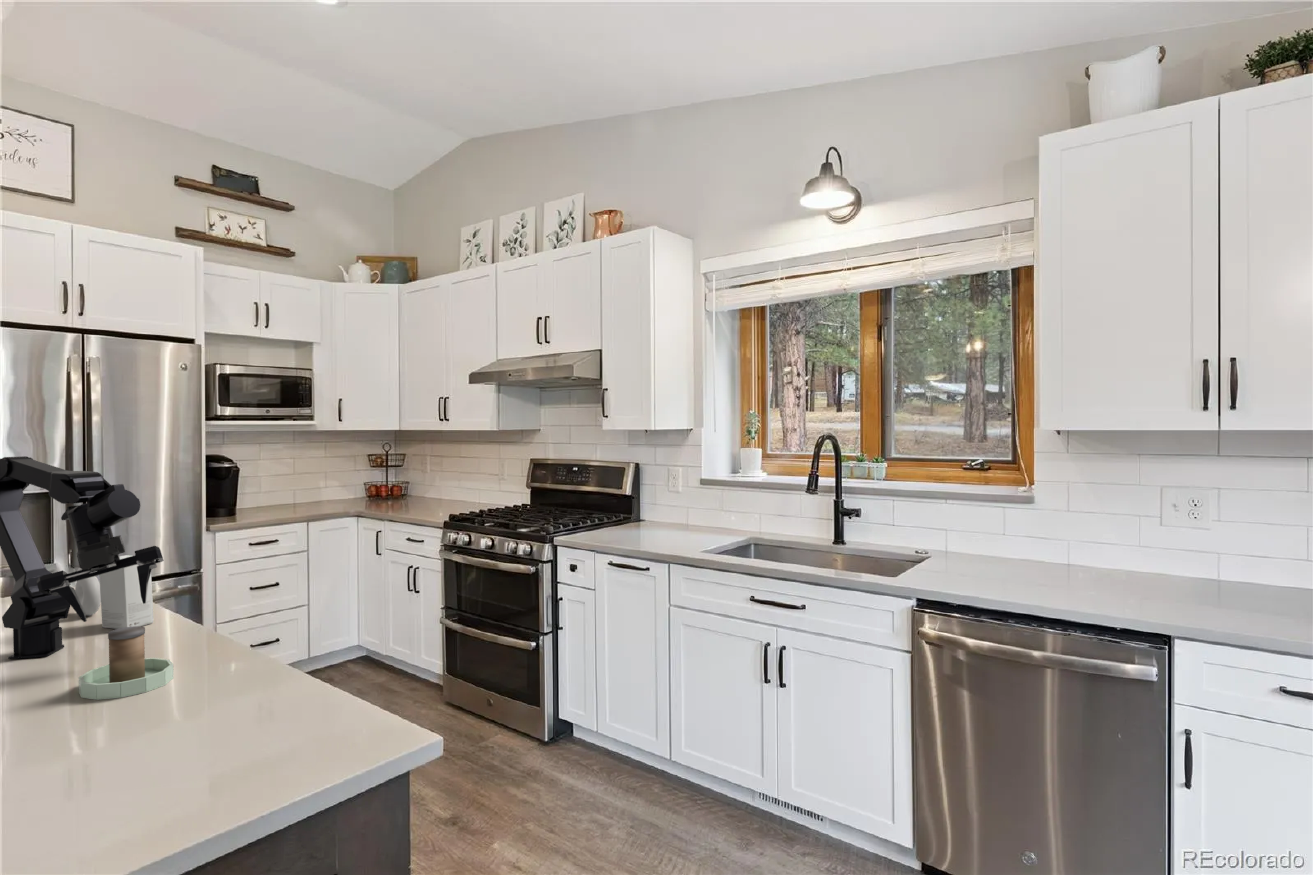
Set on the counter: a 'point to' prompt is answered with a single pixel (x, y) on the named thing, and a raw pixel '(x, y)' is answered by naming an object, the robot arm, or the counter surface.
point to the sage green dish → (99, 687)
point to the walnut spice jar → (126, 654)
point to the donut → (89, 594)
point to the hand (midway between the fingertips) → (115, 612)
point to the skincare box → (124, 599)
